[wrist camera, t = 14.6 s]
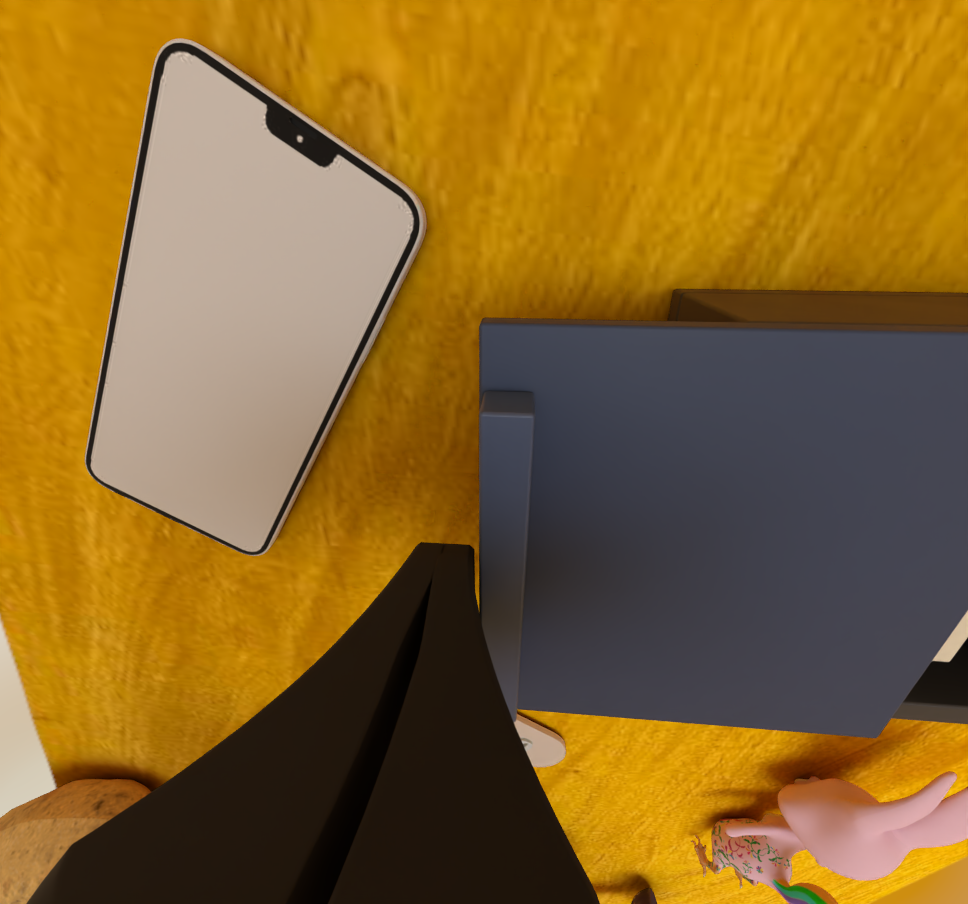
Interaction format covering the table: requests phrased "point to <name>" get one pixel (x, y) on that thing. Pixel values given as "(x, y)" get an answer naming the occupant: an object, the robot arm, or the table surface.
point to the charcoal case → (944, 685)
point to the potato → (55, 829)
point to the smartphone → (239, 300)
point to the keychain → (540, 743)
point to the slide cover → (721, 517)
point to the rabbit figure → (836, 833)
